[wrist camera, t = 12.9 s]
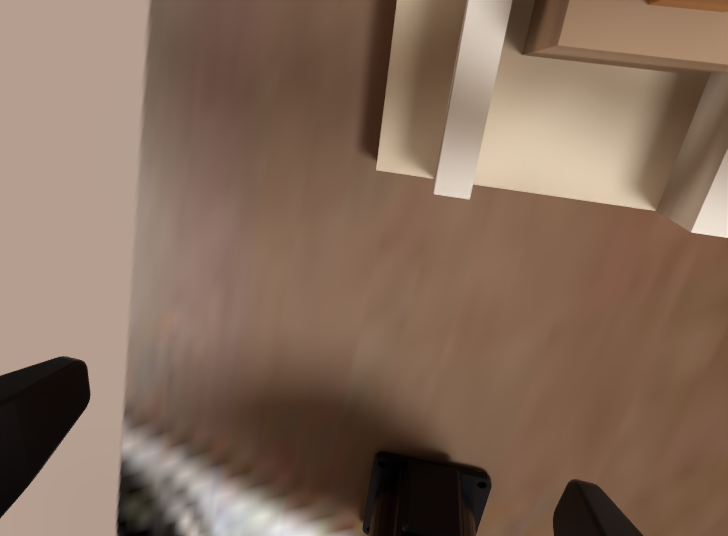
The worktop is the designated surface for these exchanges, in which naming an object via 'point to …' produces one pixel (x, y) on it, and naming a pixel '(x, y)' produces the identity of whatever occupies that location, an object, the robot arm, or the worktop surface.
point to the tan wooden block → (632, 33)
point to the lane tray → (548, 118)
